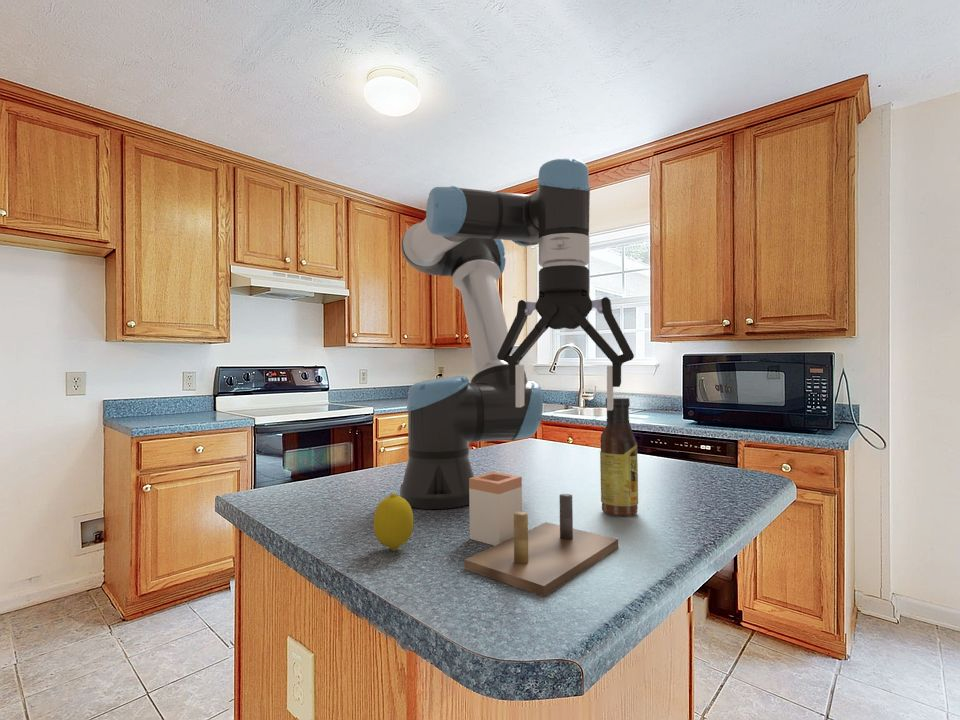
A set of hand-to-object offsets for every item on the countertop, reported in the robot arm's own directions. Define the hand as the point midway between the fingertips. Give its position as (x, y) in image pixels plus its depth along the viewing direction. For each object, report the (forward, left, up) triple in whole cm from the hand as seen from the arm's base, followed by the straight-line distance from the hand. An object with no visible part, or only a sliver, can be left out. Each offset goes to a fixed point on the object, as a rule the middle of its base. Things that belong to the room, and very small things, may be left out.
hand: (563, 408), depth 76 cm
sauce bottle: (+1, +16, -19) cm, 25 cm away
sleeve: (-8, -7, -19) cm, 22 cm away
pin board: (+2, -9, -19) cm, 21 cm away
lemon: (-16, -20, -19) cm, 32 cm away
